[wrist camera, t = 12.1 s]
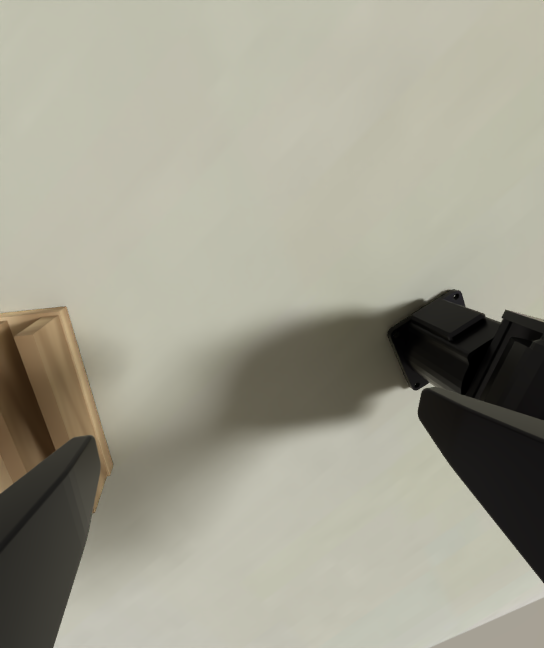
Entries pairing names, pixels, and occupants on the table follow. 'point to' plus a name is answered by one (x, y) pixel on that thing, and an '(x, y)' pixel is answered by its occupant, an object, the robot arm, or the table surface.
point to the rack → (43, 393)
